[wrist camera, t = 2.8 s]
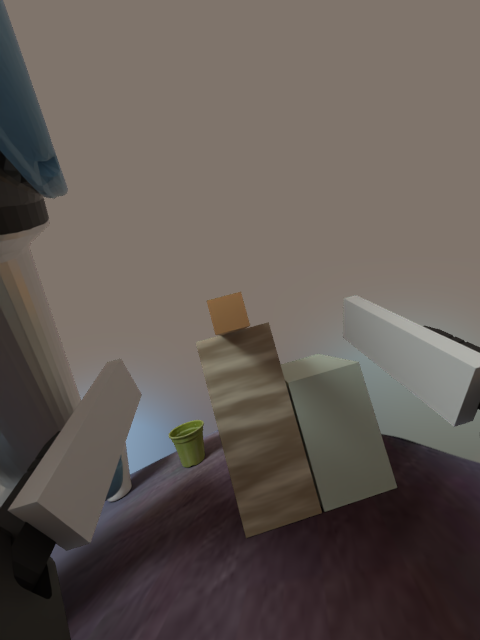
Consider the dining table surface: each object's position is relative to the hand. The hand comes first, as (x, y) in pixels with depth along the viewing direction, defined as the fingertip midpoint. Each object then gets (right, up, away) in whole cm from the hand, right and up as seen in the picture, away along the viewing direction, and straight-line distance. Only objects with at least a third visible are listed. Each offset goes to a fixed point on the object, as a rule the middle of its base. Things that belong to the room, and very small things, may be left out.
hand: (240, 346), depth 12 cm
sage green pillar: (+18, -27, +28) cm, 43 cm away
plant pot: (-12, -36, +44) cm, 59 cm away
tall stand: (+6, -30, +27) cm, 41 cm away
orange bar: (-1, -1, +23) cm, 23 cm away
